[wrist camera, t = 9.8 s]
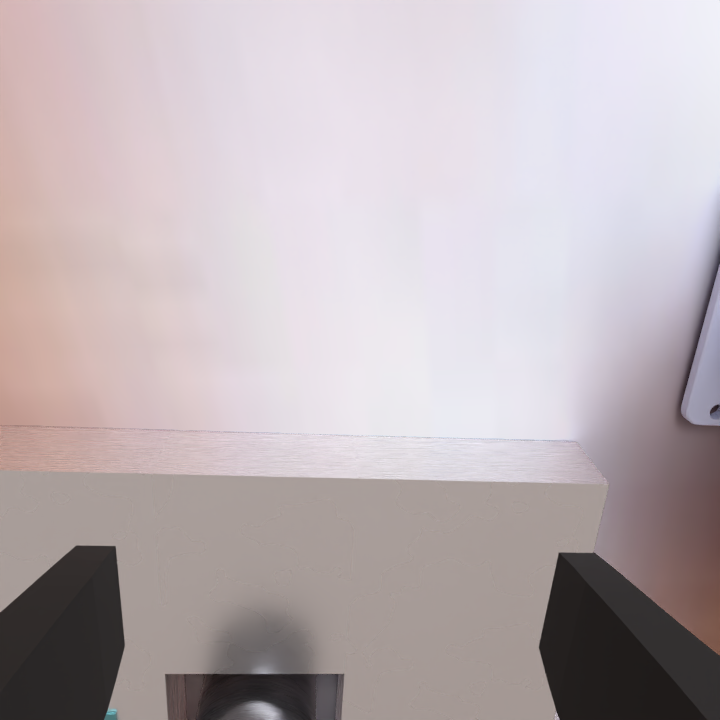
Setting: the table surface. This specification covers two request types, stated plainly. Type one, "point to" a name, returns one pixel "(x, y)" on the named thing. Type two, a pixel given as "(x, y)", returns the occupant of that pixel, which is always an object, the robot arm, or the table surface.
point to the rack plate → (311, 559)
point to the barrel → (258, 697)
